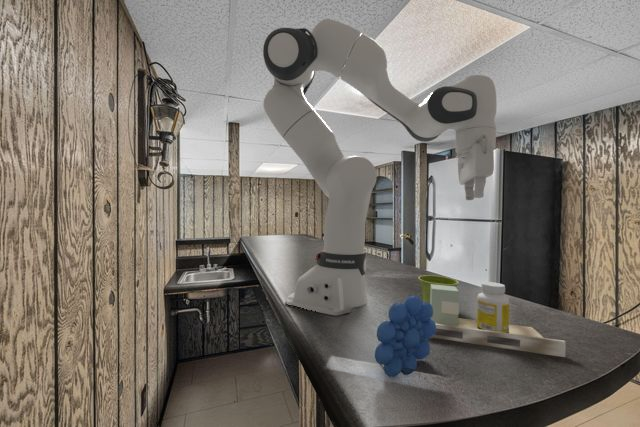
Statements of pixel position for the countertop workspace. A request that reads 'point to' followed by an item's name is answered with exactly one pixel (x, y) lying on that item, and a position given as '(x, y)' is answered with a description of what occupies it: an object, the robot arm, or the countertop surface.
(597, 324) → the countertop surface
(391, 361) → the grapes
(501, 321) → the supplement bottle
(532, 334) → the shelf board
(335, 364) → the countertop surface
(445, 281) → the plant pot
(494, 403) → the countertop surface
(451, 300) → the sage tin
